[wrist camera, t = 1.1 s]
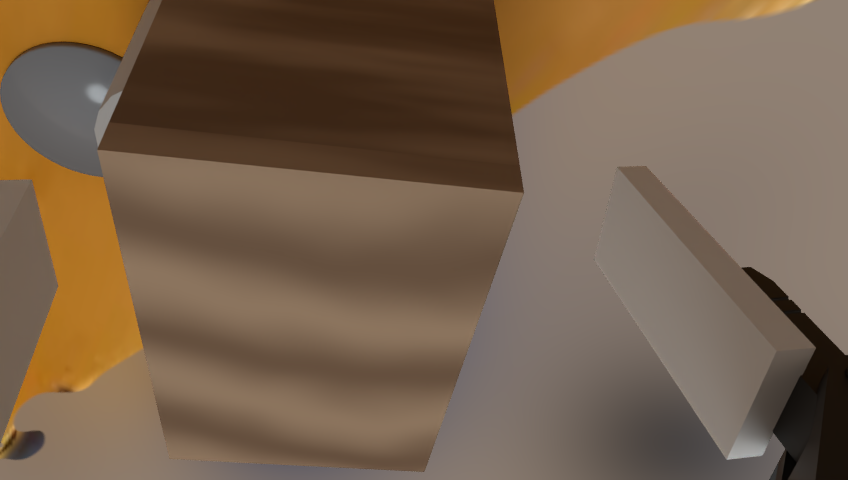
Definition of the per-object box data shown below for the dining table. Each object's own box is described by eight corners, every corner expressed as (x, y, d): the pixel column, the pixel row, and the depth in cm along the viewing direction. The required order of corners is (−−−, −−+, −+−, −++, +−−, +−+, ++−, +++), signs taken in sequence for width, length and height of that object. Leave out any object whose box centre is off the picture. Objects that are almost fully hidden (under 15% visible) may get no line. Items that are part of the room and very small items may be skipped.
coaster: (-18, 31, 41) (-22, 37, 40) (165, 53, 42) (163, 59, 42) (26, 163, 48) (23, 169, 48) (181, 178, 49) (179, 184, 49)
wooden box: (225, -147, 34) (96, 149, 20) (476, -108, 36) (523, 193, 21) (239, 158, 48) (169, 459, 34) (418, 176, 50) (424, 471, 35)
